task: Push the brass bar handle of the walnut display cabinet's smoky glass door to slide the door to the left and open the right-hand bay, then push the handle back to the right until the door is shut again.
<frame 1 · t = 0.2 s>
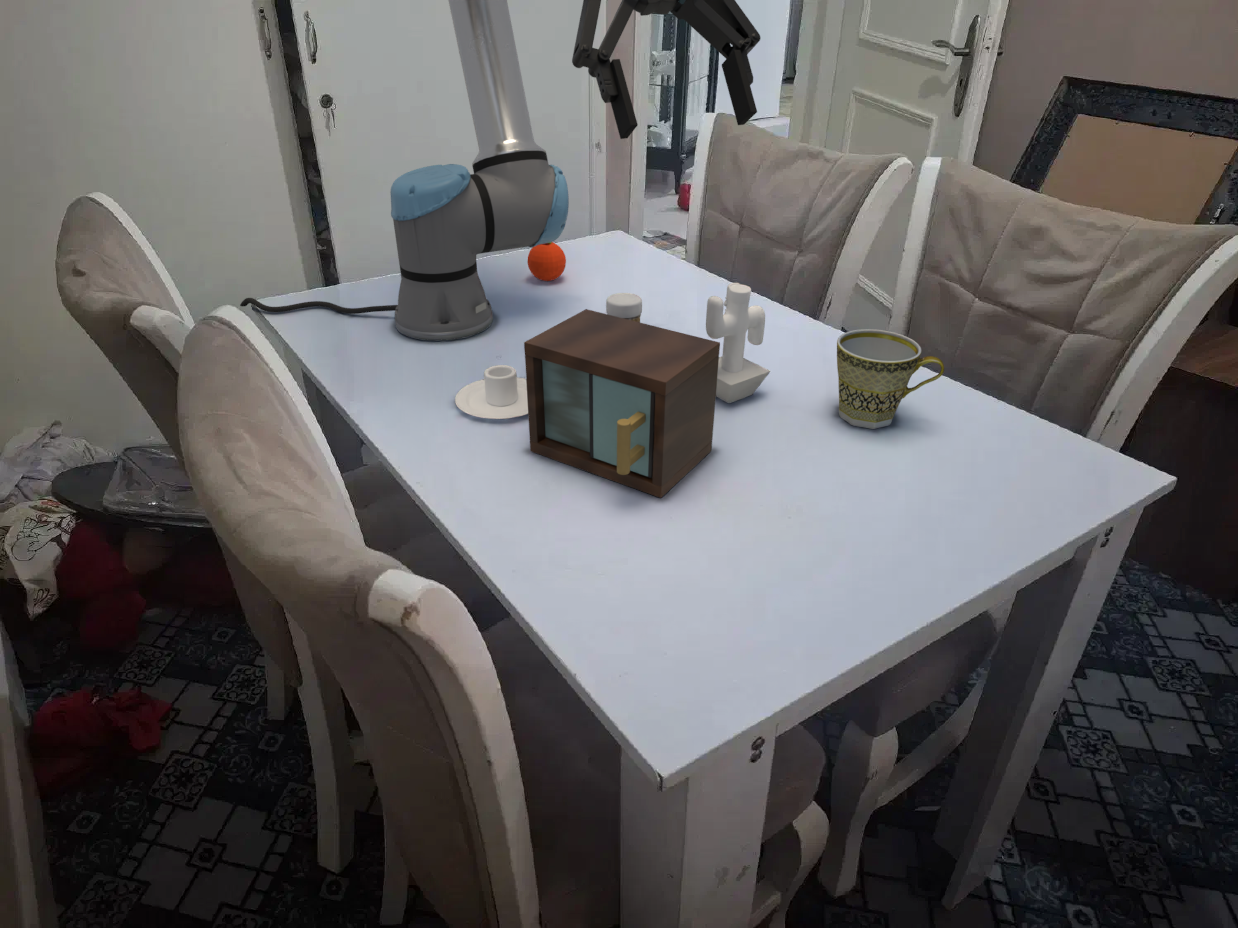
hand: (690, 125, 81), 36 cm above the table, tool tilted 35°, fingers open, 13 cm apart
figurine: (729, 394, 111), on the table
candle holder: (501, 402, 108), on the table
ceramic cup: (877, 419, 105), on the table
sprinkles bottle: (623, 394, 110), on the table
cabinet: (621, 451, 97), on the table
clementine: (548, 280, 149), on the table
glass door: (611, 433, 87), point 7 cm above the table, slide at 0.0 cm
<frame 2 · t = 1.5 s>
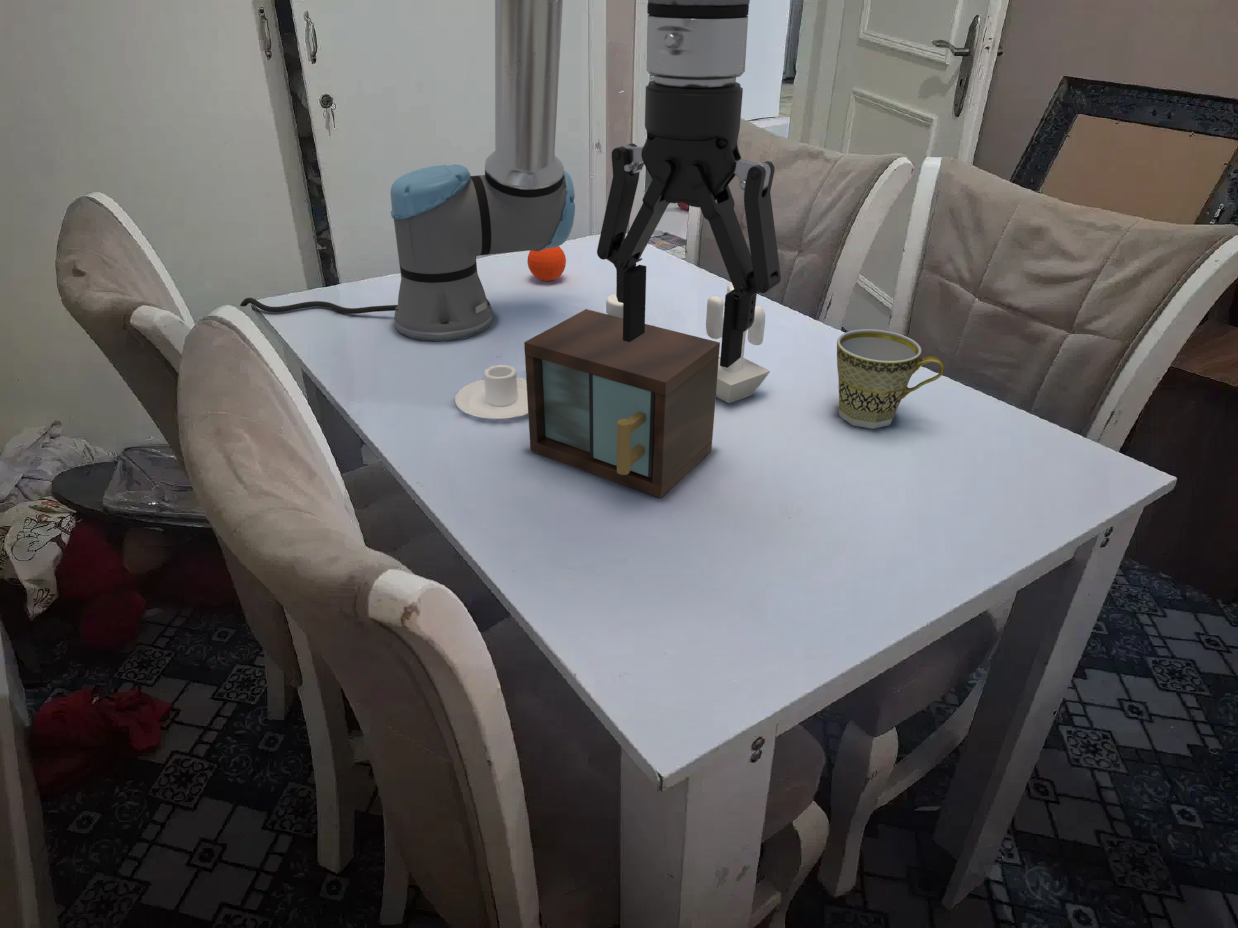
hand: (680, 348, 75), 20 cm above the table, tool pointing down, fingers open, 9 cm apart
nothing on the table moved.
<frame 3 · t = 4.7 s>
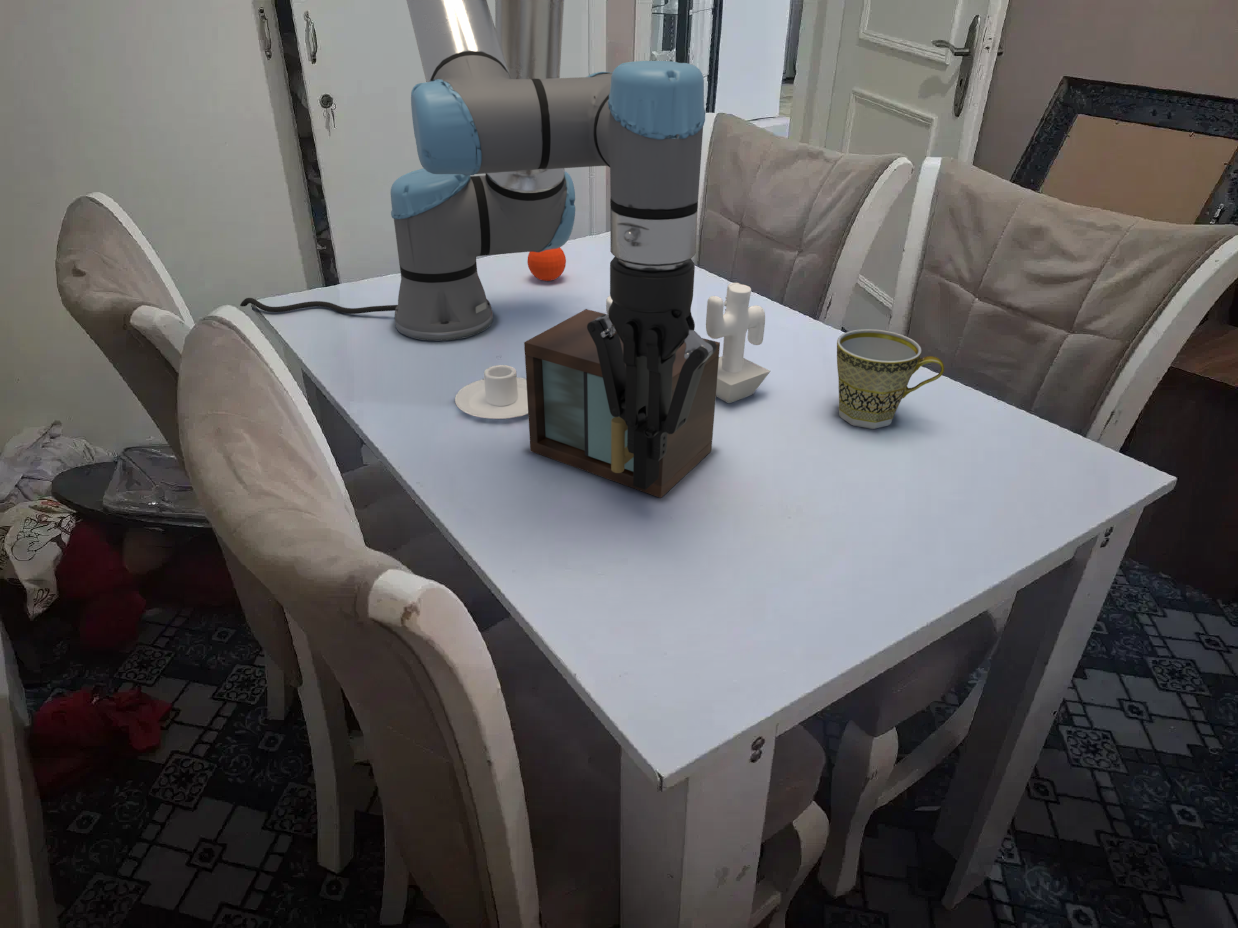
hand: (645, 481, 84), 4 cm above the table, tool pointing down, fingers closed
glass door: (606, 431, 87), point 7 cm above the table, slide at 0.7 cm, touching gripper
everything else where it was.
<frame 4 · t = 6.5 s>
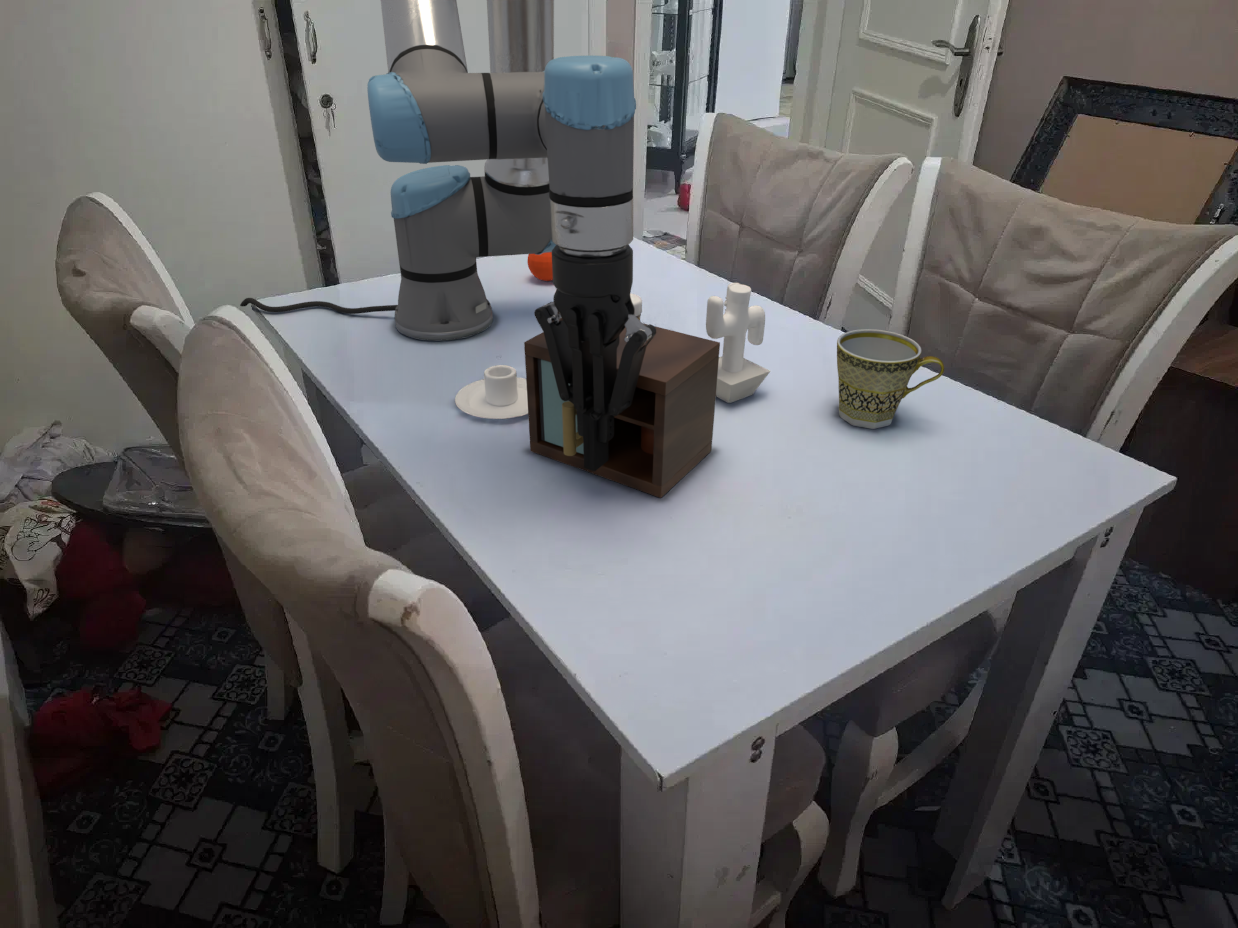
hand: (596, 463, 87), 4 cm above the table, tool pointing down, fingers closed
glass door: (559, 416, 90), point 7 cm above the table, slide at 6.9 cm, touching gripper
everything else where it was.
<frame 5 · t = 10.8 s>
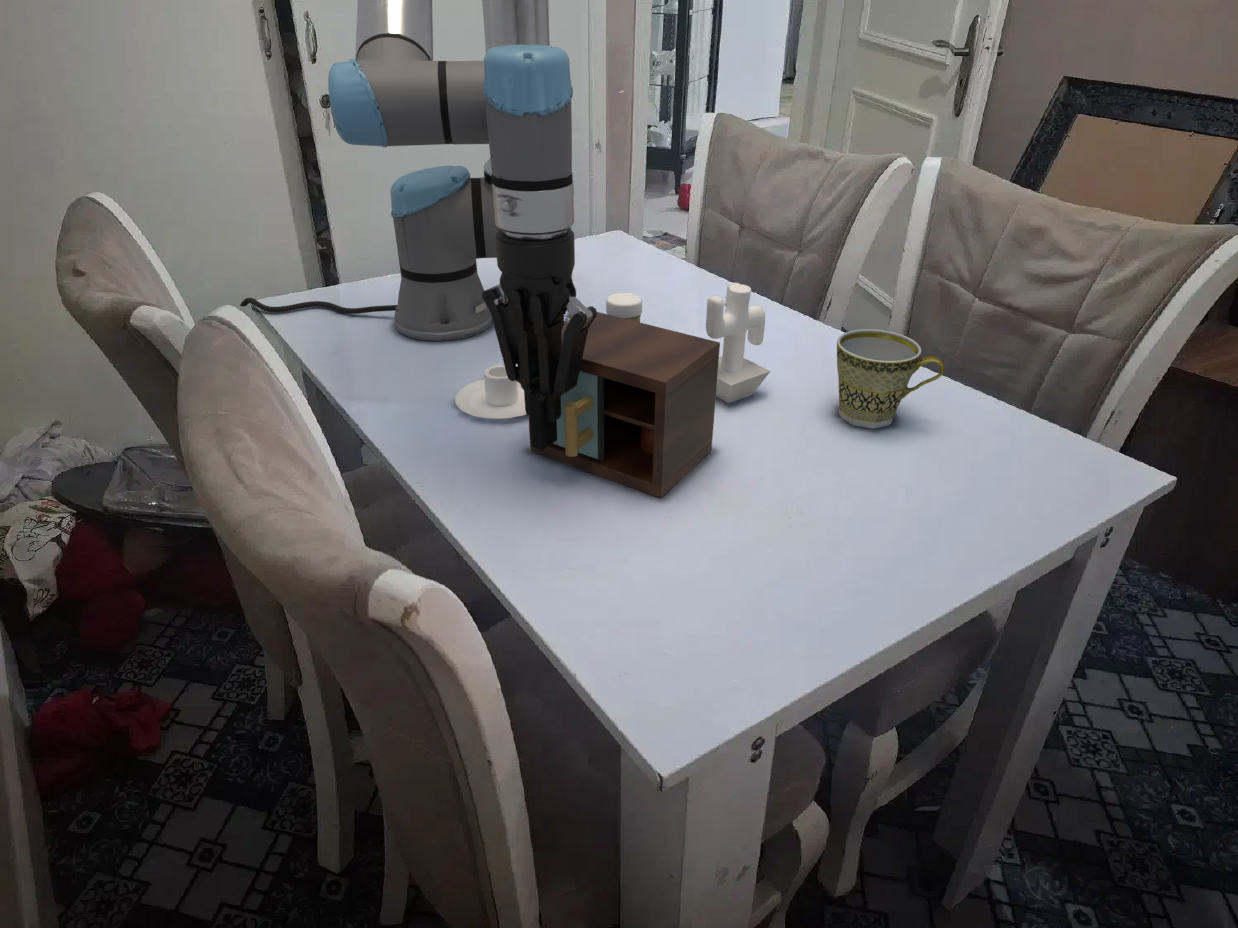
hand: (544, 443, 90), 4 cm above the table, tool pointing down, fingers closed
nothing on the table moved.
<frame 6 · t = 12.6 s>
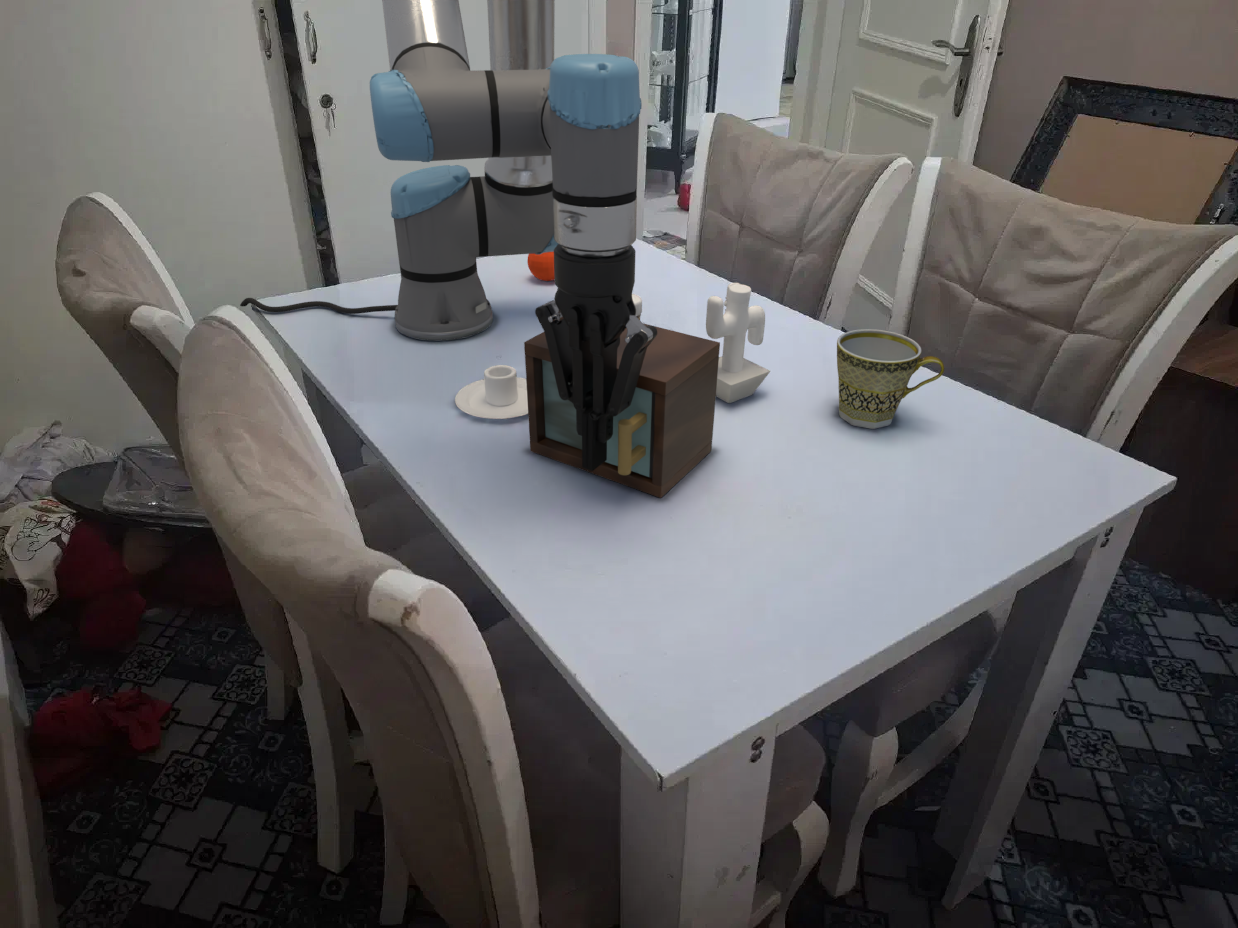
hand: (594, 463, 87), 4 cm above the table, tool pointing down, fingers closed
glass door: (612, 433, 87), point 7 cm above the table, slide at -0.1 cm, touching gripper
everything else where it was.
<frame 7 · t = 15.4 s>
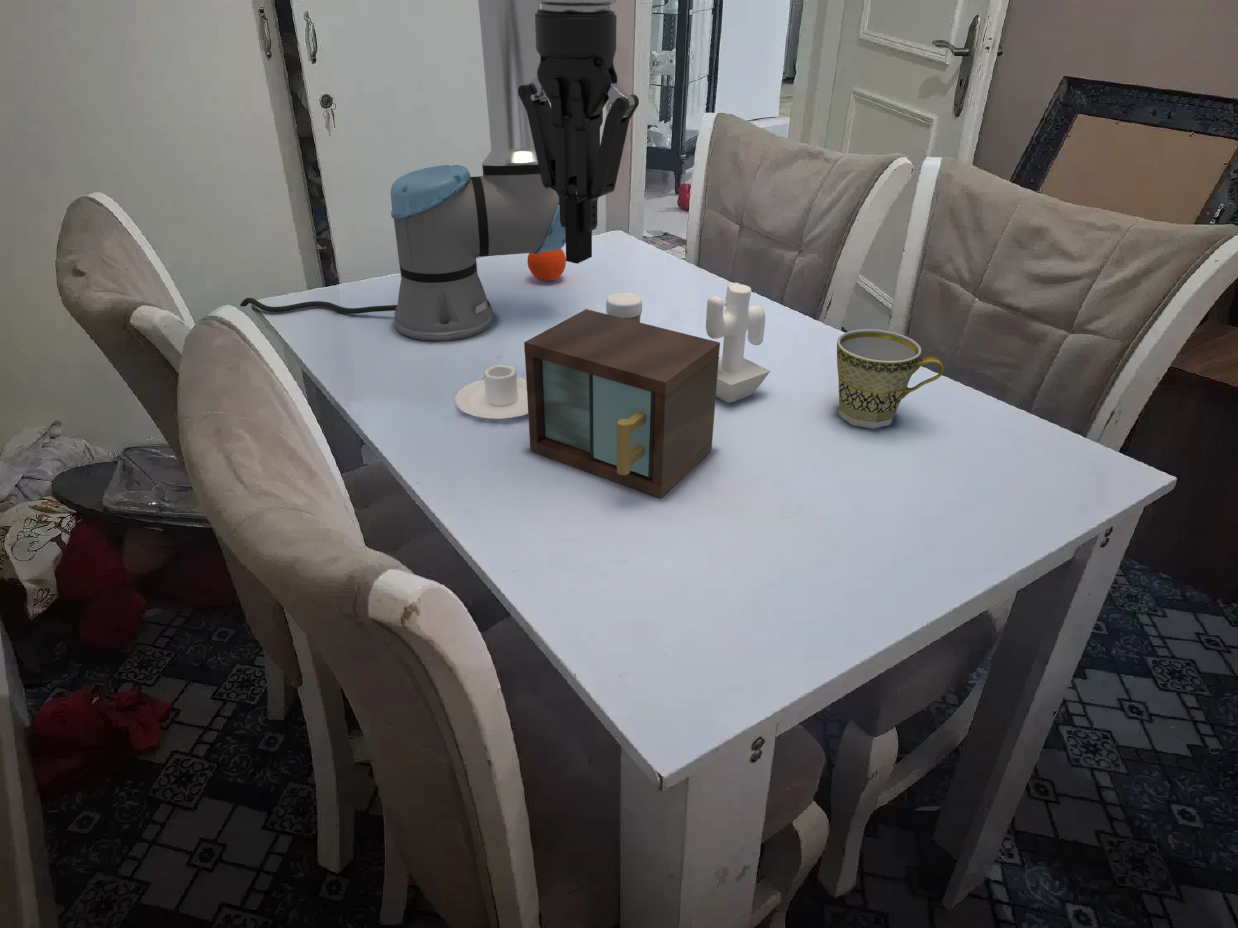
hand: (579, 258, 88), 22 cm above the table, tool pointing down, fingers closed
glass door: (611, 433, 87), point 7 cm above the table, slide at 0.0 cm
everything else where it was.
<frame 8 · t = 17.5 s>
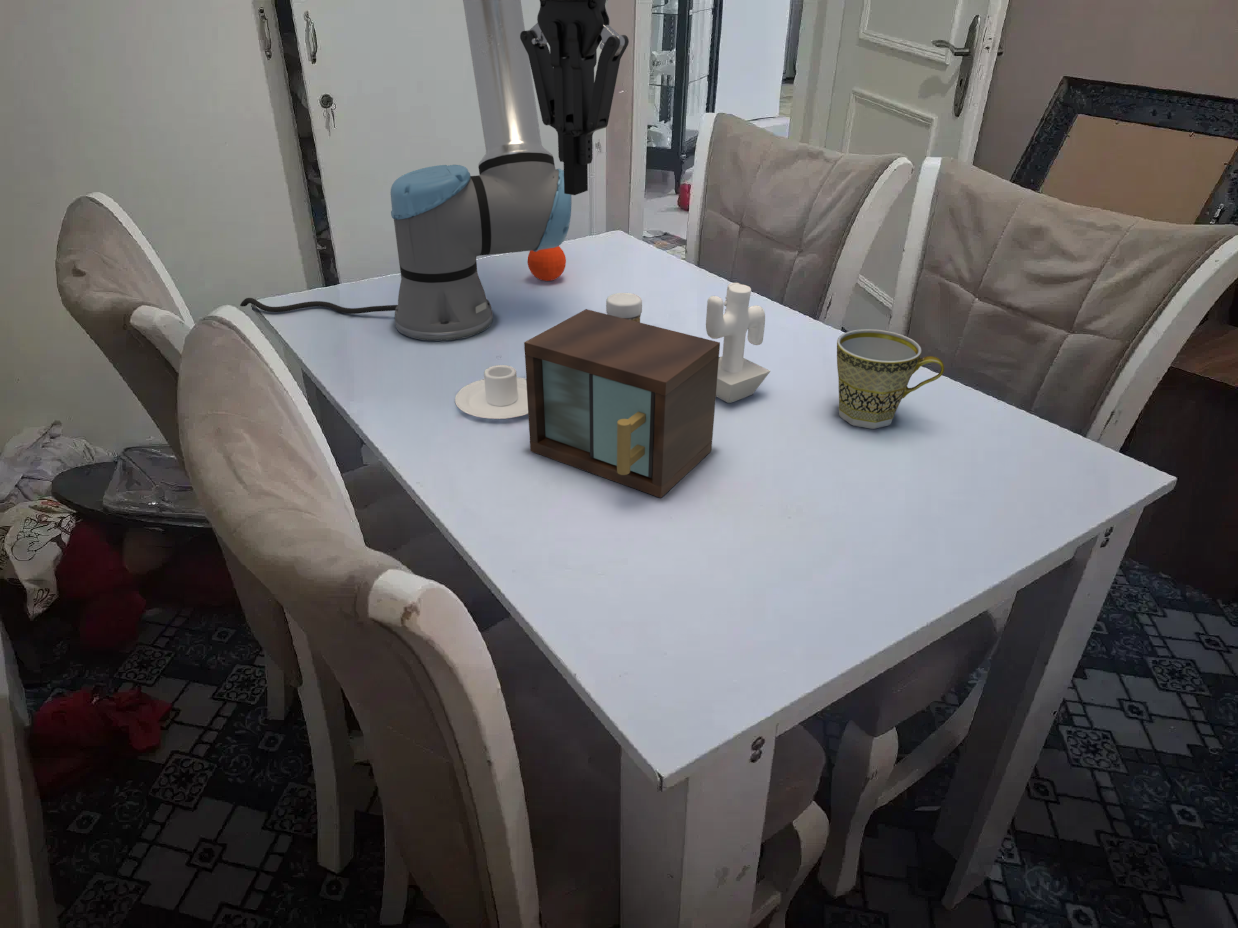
hand: (576, 192, 96), 26 cm above the table, tool pointing down, fingers closed
nothing on the table moved.
at the end: glass door pulled out 6.9 cm at the most during the clip, back to where it started at the end; glass door slide at 0.0 cm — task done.
